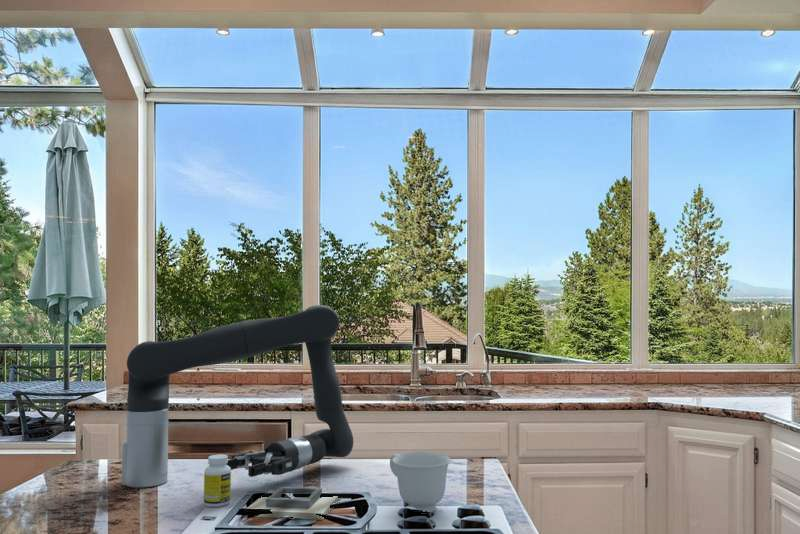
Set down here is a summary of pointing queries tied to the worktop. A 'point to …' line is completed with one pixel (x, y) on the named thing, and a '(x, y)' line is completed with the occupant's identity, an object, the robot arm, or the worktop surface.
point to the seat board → (296, 503)
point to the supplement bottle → (217, 481)
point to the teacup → (421, 478)
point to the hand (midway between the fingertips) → (236, 469)
